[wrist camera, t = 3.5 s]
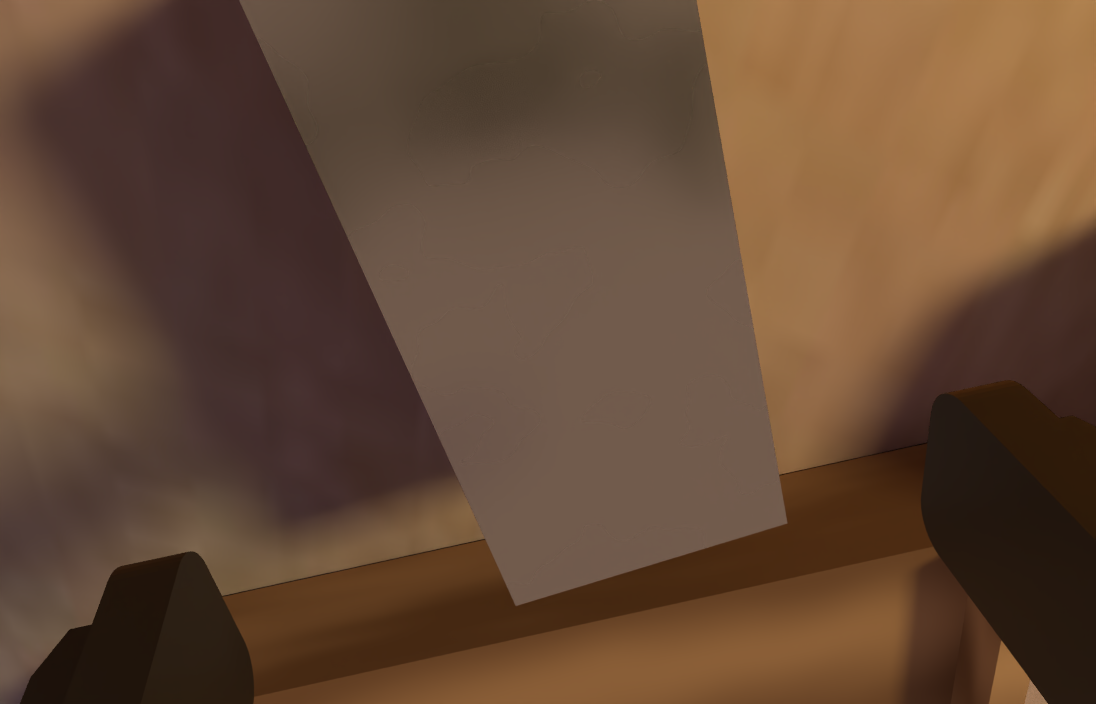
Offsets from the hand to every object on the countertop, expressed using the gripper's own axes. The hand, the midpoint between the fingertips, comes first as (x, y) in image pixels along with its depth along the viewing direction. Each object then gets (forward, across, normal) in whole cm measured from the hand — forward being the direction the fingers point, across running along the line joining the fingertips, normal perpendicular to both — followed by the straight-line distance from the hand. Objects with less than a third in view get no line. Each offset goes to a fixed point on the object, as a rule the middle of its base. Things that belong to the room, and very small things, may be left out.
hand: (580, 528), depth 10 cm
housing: (+11, -1, 0) cm, 11 cm away
